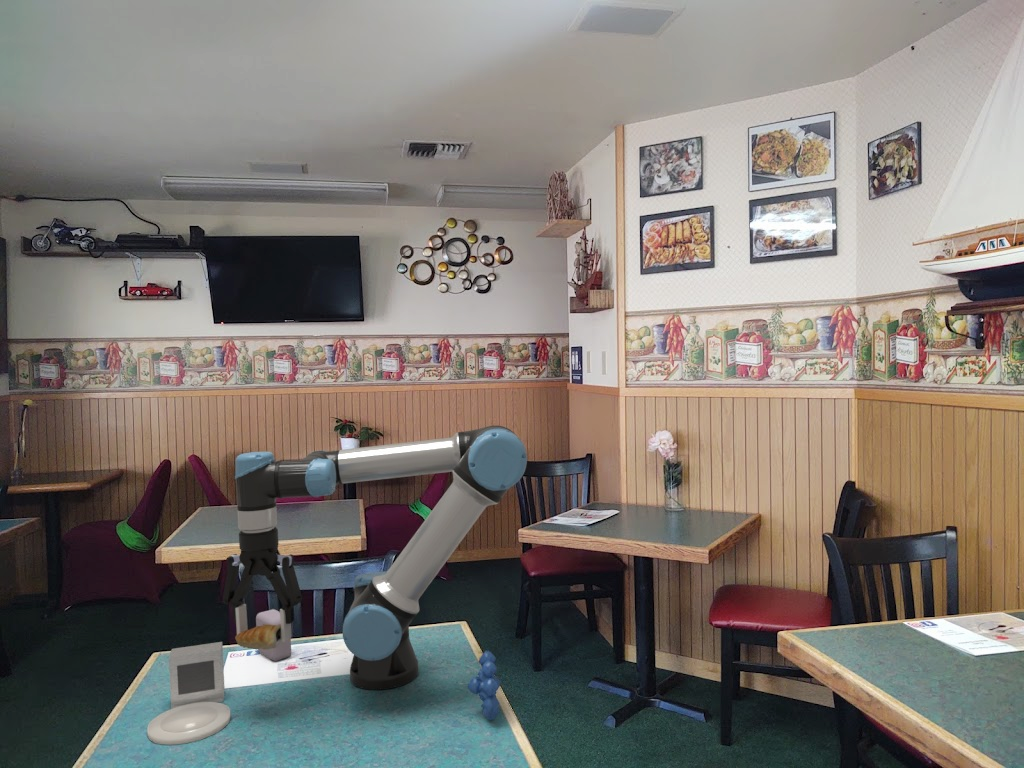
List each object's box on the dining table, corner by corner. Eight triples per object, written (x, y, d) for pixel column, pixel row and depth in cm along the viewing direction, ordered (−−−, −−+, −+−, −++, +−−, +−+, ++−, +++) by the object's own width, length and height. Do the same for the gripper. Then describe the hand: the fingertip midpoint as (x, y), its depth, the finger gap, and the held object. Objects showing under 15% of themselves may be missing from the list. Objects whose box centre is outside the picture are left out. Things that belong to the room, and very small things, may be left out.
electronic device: (255, 652, 183) (253, 612, 183) (273, 647, 186) (271, 607, 186) (273, 663, 176) (271, 622, 175) (291, 658, 179) (289, 616, 179)
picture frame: (224, 691, 161) (222, 641, 161) (223, 702, 156) (220, 650, 156) (174, 699, 158) (171, 648, 158) (171, 710, 153) (168, 657, 153)
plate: (245, 709, 152) (245, 703, 152) (200, 747, 137) (199, 740, 137) (180, 705, 155) (180, 699, 155) (129, 741, 141) (129, 734, 140)
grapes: (466, 702, 152) (464, 644, 151) (499, 699, 152) (497, 641, 152) (469, 730, 140) (467, 667, 140) (505, 727, 141) (503, 664, 140)
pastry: (229, 650, 147) (228, 631, 147) (245, 638, 153) (244, 619, 153) (274, 650, 145) (273, 631, 145) (288, 637, 152) (287, 619, 152)
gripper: (316, 524, 152) (322, 633, 153) (220, 524, 157) (226, 630, 157) (298, 533, 145) (305, 647, 145) (198, 532, 149) (205, 643, 150)
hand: (264, 638), depth 151 cm, fingers closed on pastry, 9 cm apart
